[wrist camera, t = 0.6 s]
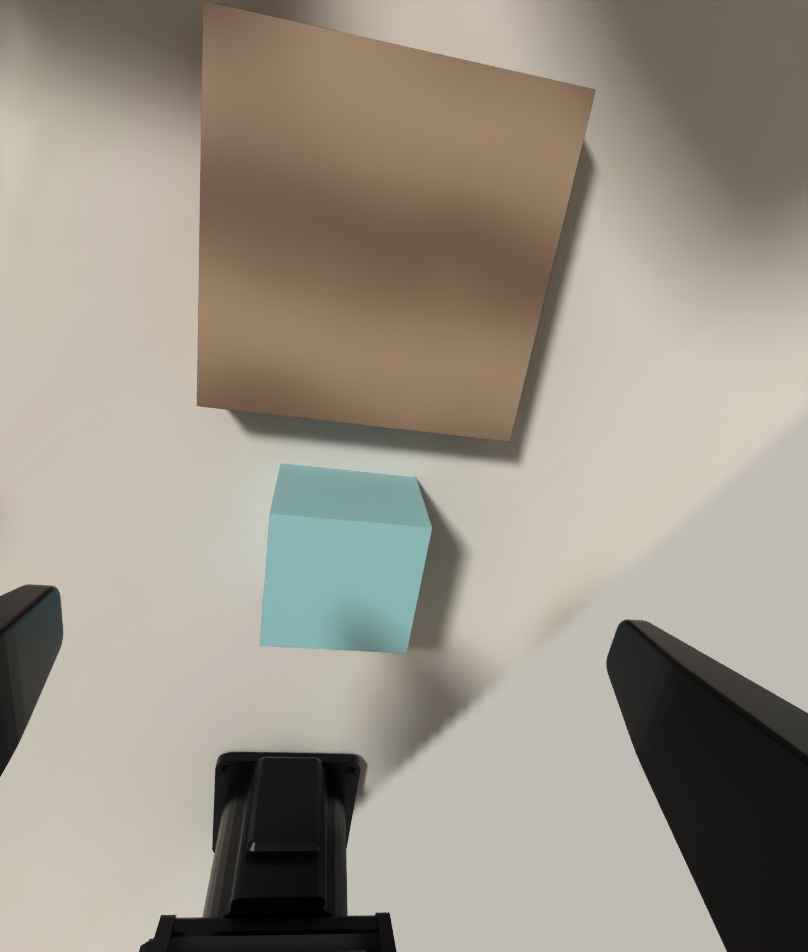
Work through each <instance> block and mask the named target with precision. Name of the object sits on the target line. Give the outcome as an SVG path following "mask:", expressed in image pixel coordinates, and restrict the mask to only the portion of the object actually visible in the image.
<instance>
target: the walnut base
mask: <svg viewBox="0 0 808 952" xmlns="http://www.w3.org/2000/svg"><path fill="white" fill-rule="evenodd" d="M595 91H596V90H595V89H590V88H586V87H582V86H577V85H573V84H568V83H564V82H560V81H555V80H551V79H546V78H542V77H537V76H533V75H529V74H524V73H520V72H515V71H511V70H507V69H502V68H498V67H493V66H489V65H484V64H480V63H476V62H471V61H467V60H462V59H458V58H454V57H449V56H445V55H440V54H436V53H431V52H427V51H423V50H418V49H414V48H409V47H405V46H400V45H396V44H392V43H387V42H383V41H378V40H374V39H370V38H365V37H361V36H356V35H352V34H347V33H343V32H339V31H334V30H330V29H325V28H321V27H317V26H312V25H308V24H303V23H299V22H294V21H290V20H286V19H281V18H277V17H272V16H268V15H264V14H259V13H255V12H250V11H246V10H241V9H237V8H233V7H228V6H224V5H219V4H215V3H211V2H206V1H203V40H202V105H201V170H200V235H199V299H198V364H197V406H201V407H210V408H218V409H227V410H236V411H245V412H254V413H262V414H271V415H280V416H289V417H298V418H306V419H315V420H324V421H333V422H342V423H350V424H359V425H368V426H377V427H386V428H394V429H403V430H412V431H421V432H430V433H438V434H447V435H456V436H465V437H474V438H483V439H491V440H500V441H509V442H510V438H511V434H512V430H513V426H514V422H515V418H516V414H517V410H518V405H519V401H520V397H521V393H522V389H523V385H524V381H525V377H526V373H527V369H528V365H529V360H530V356H531V352H532V348H533V344H534V340H535V336H536V332H537V328H538V324H539V320H540V316H541V311H542V307H543V303H544V299H545V295H546V291H547V287H548V283H549V279H550V275H551V271H552V266H553V262H554V258H555V254H556V250H557V246H558V242H559V238H560V234H561V230H562V226H563V222H564V217H565V213H566V209H567V205H568V201H569V197H570V193H571V189H572V185H573V181H574V177H575V172H576V168H577V164H578V160H579V156H580V152H581V148H582V144H583V140H584V136H585V132H586V127H587V123H588V119H589V115H590V111H591V107H592V103H593V99H594V95H595Z"/></svg>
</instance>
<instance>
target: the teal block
mask: <svg viewBox="0 0 808 952" xmlns="http://www.w3.org/2000/svg"><path fill="white" fill-rule="evenodd" d="M431 531H432V526H431V523H430V519H429V516H428V513H427V510H426V507H425V504H424V501H423V498H422V494H421V491H420V488H419V485H418V482H417V479H416V477H407V476H397V475H388V474H378V473H368V472H359V471H349V470H339V469H329V468H320V467H310V466H300V465H291V464H280V469H279V473H278V478H277V483H276V487H275V492H274V496H273V501H272V506H271V510H270V517H269V530H268V543H267V556H266V569H265V582H264V595H263V608H262V621H261V634H260V646H272V647H292V648H312V649H332V650H352V651H372V652H392V653H407V649H408V644H409V639H410V634H411V629H412V624H413V619H414V614H415V610H416V605H417V600H418V595H419V590H420V585H421V580H422V575H423V571H424V566H425V561H426V556H427V551H428V546H429V541H430V536H431Z"/></svg>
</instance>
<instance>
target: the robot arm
mask: <svg viewBox="0 0 808 952" xmlns="http://www.w3.org/2000/svg"><path fill="white" fill-rule="evenodd" d="M62 640H63V622H62V610H61V598H60V593H59V590H58V589H57V588H56V587H55V586H48V585H31V584H28V585H24V586H21V587H19V588H17V589H15V590H13V591H10V592H8V593H6V594H4V595H2V596H0V776H1V775H2V773H3V771H4V769H5V768H6V766H7V764H8V762H9V761H10V759H11V757H12V755H13V753H14V751H15V750H16V748H17V746H18V744H19V742H20V740H21V737H22V735H23V733H24V731H25V729H26V727H27V724H28V722H29V720H30V717H31V715H32V713H33V710H34V708H35V706H36V704H37V701H38V699H39V697H40V694H41V692H42V690H43V687H44V685H45V683H46V680H47V678H48V676H49V673H50V671H51V669H52V667H53V664H54V662H55V660H56V657H57V655H58V653H59V650H60V648H61V644H62ZM607 671H608V675H609V678H610V681H611V684H612V686H613V689H614V692H615V695H616V698H617V701H618V704H619V707H620V709H621V712H622V715H623V718H624V721H625V724H626V727H627V730H628V732H629V735H630V738H631V741H632V744H633V746H634V748H635V752H636V754H637V756H638V759H639V761H640V763H641V765H642V768H643V770H644V772H645V775H646V777H647V779H648V781H649V783H650V785H651V788H652V790H653V792H654V794H655V796H656V798H657V801H658V803H659V805H660V807H661V809H662V812H663V814H664V816H665V818H666V820H667V822H668V825H669V827H670V829H671V831H672V833H673V835H674V838H675V840H676V842H677V844H678V846H679V848H680V850H681V853H682V855H683V857H684V859H685V861H686V864H687V866H688V868H689V870H690V872H691V874H692V877H693V879H694V881H695V883H696V885H697V887H698V890H699V892H700V894H701V896H702V898H703V900H704V903H705V905H706V907H707V909H708V911H709V913H710V916H711V918H712V919H713V922H714V924H715V927H716V929H717V931H718V933H719V935H720V937H721V940H722V942H723V944H724V946H725V948H726V950H727V952H808V713H806V712H805V711H803V710H801V709H799V708H798V707H796V706H794V705H792V704H791V703H789V702H787V701H785V700H784V699H782V698H780V697H778V696H777V695H775V694H773V693H771V692H770V691H768V690H766V689H764V688H763V687H761V686H759V685H757V684H756V683H754V682H752V681H750V680H749V679H747V678H745V677H744V676H742V675H740V674H738V673H737V672H735V671H733V670H731V669H730V668H727V667H726V666H724V665H723V664H721V663H719V662H717V661H715V660H714V659H712V658H710V657H709V656H707V655H705V654H703V653H702V652H700V651H698V650H696V649H695V648H693V647H691V646H689V645H688V644H685V643H684V642H682V641H681V640H679V639H677V638H675V637H674V636H672V635H670V634H668V633H666V632H665V631H663V630H661V629H660V628H658V627H656V626H654V625H652V624H651V623H649V622H647V621H643V620H624V621H622V622H621V623H620V624H619V625H618V628H617V630H616V633H615V636H614V639H613V642H612V645H611V648H610V651H609V653H608V656H607ZM227 764H228V765H227ZM349 766H350V767H349ZM359 775H360V760H359V758H358V757H356V756H353V755H316V754H259V753H225V754H222V755H220V756H219V757H218V760H217V764H216V768H215V794H214V820H213V846H212V850H213V852H214V853H215V854H214V859H213V865H212V870H211V875H210V881H209V886H208V891H207V897H206V902H205V907H204V913H203V918H176V915H161V917H160V921H159V924H158V927H157V931H156V934H155V937H154V938H153V939H149V941H148V942H146V943H145V944H143V945H141V947H140V950H139V952H396V947H395V941H394V936H393V930H392V924H391V918H390V914H389V913H376V914H375V916H347V872H346V848H347V843H348V837H349V831H350V825H351V820H352V814H353V809H354V803H355V798H356V792H357V786H358V781H359Z"/></svg>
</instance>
